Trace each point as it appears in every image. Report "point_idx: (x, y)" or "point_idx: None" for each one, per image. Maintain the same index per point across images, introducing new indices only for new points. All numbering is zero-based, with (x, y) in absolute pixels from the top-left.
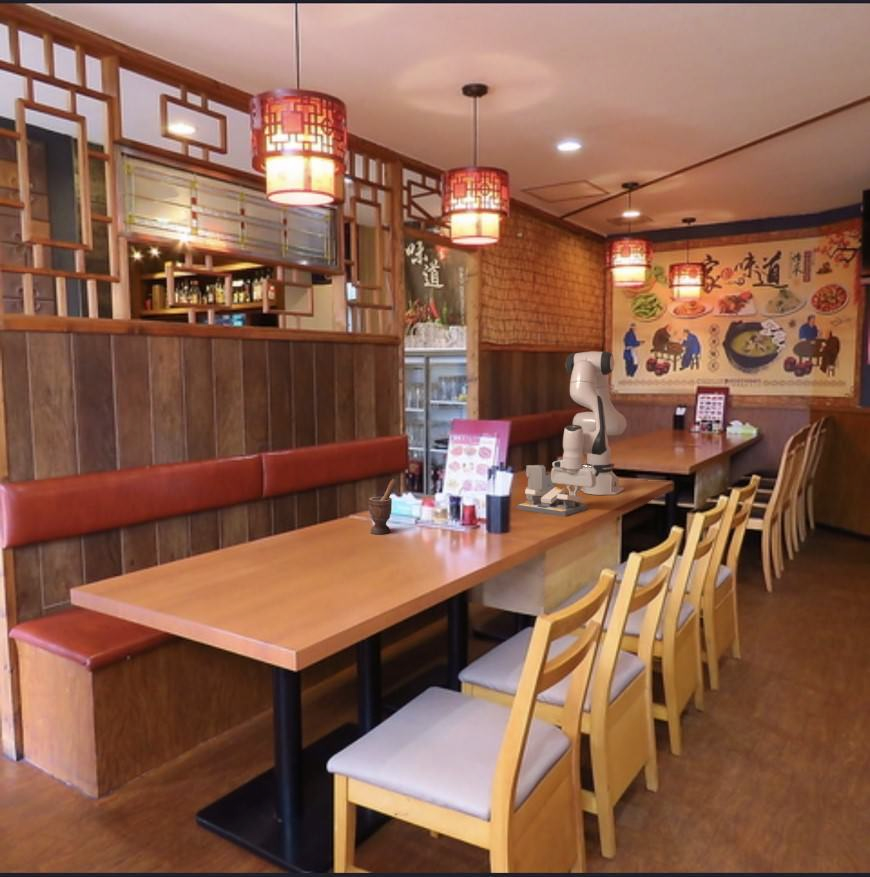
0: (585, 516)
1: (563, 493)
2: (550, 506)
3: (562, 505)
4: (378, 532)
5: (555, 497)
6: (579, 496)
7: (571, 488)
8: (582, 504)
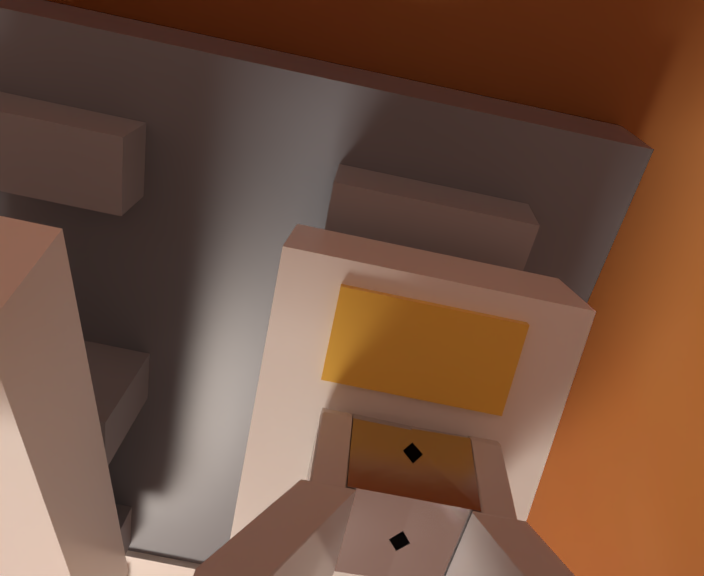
0: (656, 552)
1: (69, 319)
2: (129, 526)
3: (233, 379)
4: None
5: (93, 558)
6: (559, 420)
7: (311, 542)
8: (552, 155)
